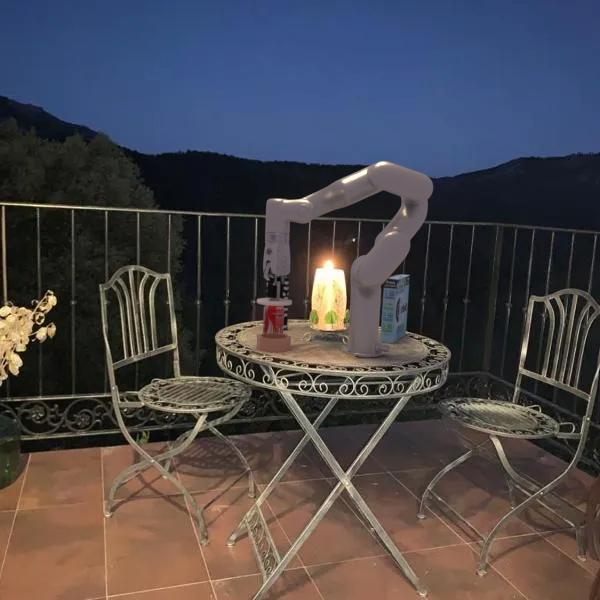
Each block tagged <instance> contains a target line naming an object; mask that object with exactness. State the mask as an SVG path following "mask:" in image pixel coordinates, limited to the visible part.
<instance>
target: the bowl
mask: <svg viewBox="0 0 600 600" xmlns="http://www.w3.org/2000/svg"><path fill="white" fill-rule="evenodd" d="M291 338H292V336H290V335H289V334H287V333H283V334H281V333H263V332H262V333H258V334H257V335H256V349H257V350H258V351H260V352H265V353H285V352H288V351H290V350H291V348H290V346H291V342H292V340H291Z"/></svg>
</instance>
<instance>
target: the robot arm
mask: <svg viewBox="0 0 600 600" xmlns="http://www.w3.org/2000/svg"><path fill="white" fill-rule="evenodd" d="M382 191H385V192H388V193H390V194H393V195H396V196H398V197H400V199H401V204H400V205H401V206H400V207H399V210H398V211H397V213H396V214H395V215H394V216H393V218H392V219H391V221H389V222H388V223H387V225H386V226H385V227H384V228H383V229H382V231H380V232H379V233H378V234H377V235H376V237H375V240H374V245H373V247H372V248H371V249H370V250H369V252H368V253H367V254H364V255H361V256H358V257H357V258H356V259H355V260H354V261H353V263H352V264H351V268H350V301H349V302H350V304H349V317H348V318H349V320H348V337H347V338H348V340H347V341H348V344H347V346H345V347H343V348H342V351H343V353H346V354H347V355H354V357H356V358H377V357H381V356H382V355H383V352H385V353H386V352H387V353H390V351H391V346H390V345H389V344H382V342H381V340H380V339H379V334H380V333H379V331H380V314H381V313H380V312H381V297H382V293H381V292H382V289H381V288H382V287H381V286H382V285H384V282H385V281H386V280H387V279H388V277H391V276H392V274H394V272H395V270H397V268H398V267H399V266H400V265H401V264H402V262H403V261H404V260H405V258H406V257H407V255H408V254H409V252H410V250H411V249H410V248H411V239H412V238H413V237H414V236H415V235H416V233H417V232H418V231H419V230H420V229H421V227H422V226H423V223H425V221H426V218H427V215H428V206H429V203H428V202H429V201H428V199H430V197H431V196H432V194H433V191H434V184H433V181H432V180H431V178H430V177H429V176H428V175H426V174H424V173H422V172H419V171H416V170H413V169H410V168H407V167H405V166H401V165H399V164H396V163H393V162H390V161H387V160H380V161H377V162H375V163H373V164H371V165H369V166H366V167H365V168H362V169H360V170H358V171H356V172H353V173H351V174H349V175H347V176H344V177H342V178H340V179H338V180H335V181H334V182H332V183H331V184H329V185H328V186H326V187H323V188H322V189H319V190H318V191H316V192H313V193H312V194H309V195H306V196H305V197H302V198H299V199H287V198H275V197H274V198H269V199H267V200H266V203H265V204H266V207H265V231H264V233H265V234H264V237H265V239H264V240H265V241H264V243H265V246H264V251H263V252H264V253H263V261H262V262H263V263H262V270H263V278H264V279H265V280H266V298H267V297H268V298H277V285H276V281H280V297H283V284H284V279H285V277H287V276H288V275H289V274H290V273H291V250H290V249H291V248H290V231H291V230H290V228H291V226H290V225H291V224H290V223H292V222H294V223H298V224H308V223H310V222H311V221H312V220H314V219H316V218H318V217H321V216H323V215H324V214H328V213H329V212H332V211H335V210H338V209H342V208H346V207H348V206H350V205H354V204H355V203H358V202H360V201H362V200H364V199H366V198H368V197H371V196H373V195H375V194H377V193H380V192H382ZM278 276H279V277H278ZM272 277H273V278H272Z"/></svg>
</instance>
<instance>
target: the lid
mask: <svg viewBox="0 0 600 600" xmlns="http://www.w3.org/2000/svg"><path fill="white" fill-rule="evenodd" d="M276 285H277V298H267V297H261V298H260V297H259V298H257V299H256V303H257V304H258V305H263V306H265V305H269V306H288V307H289V306H291V305H293V300H292V299H289V298H288V299H282V298H280V281H276Z"/></svg>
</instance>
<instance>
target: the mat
mask: <svg viewBox="0 0 600 600" xmlns="http://www.w3.org/2000/svg"><path fill="white" fill-rule="evenodd" d="M320 346H322V344H316V343H311V342H310V343H309V342H304V341H303V342H302V341H291V346H290V349H297V350H303V351H310V350H313V349H315V348H317V347H320Z"/></svg>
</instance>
